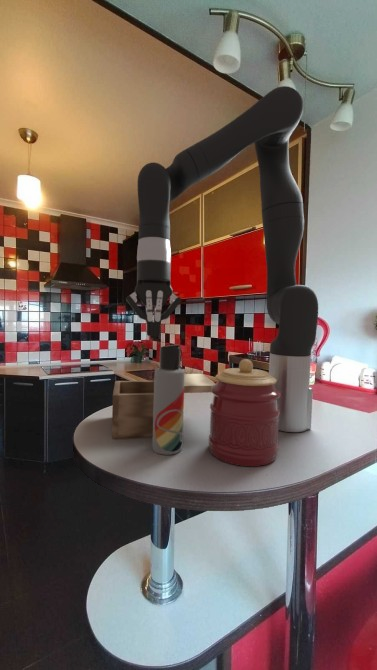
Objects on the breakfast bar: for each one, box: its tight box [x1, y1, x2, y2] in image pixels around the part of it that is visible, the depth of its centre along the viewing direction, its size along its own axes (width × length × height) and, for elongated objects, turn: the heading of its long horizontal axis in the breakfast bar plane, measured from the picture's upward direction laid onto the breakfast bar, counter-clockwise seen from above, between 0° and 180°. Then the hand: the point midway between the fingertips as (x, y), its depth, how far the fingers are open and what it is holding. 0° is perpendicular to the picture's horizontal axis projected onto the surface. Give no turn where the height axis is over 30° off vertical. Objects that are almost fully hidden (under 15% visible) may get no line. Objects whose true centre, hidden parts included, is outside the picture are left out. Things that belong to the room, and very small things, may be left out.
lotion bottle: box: [152, 344, 186, 456], centre depth 57 cm, size 6×6×20 cm
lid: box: [156, 362, 216, 394], centre depth 70 cm, size 12×14×4 cm
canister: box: [208, 358, 281, 467], centre depth 57 cm, size 13×13×18 cm
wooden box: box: [111, 380, 154, 440], centre depth 69 cm, size 12×14×9 cm
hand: (153, 338), depth 69 cm, fingers closed
